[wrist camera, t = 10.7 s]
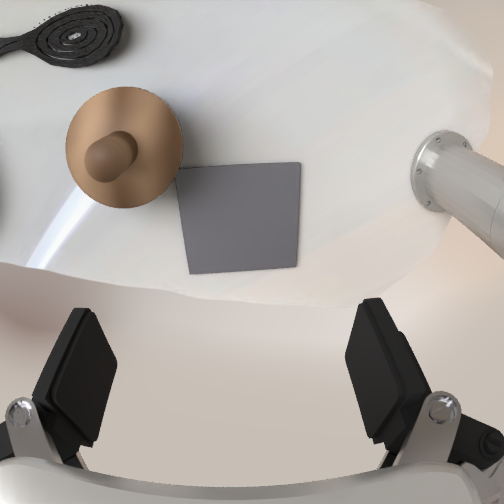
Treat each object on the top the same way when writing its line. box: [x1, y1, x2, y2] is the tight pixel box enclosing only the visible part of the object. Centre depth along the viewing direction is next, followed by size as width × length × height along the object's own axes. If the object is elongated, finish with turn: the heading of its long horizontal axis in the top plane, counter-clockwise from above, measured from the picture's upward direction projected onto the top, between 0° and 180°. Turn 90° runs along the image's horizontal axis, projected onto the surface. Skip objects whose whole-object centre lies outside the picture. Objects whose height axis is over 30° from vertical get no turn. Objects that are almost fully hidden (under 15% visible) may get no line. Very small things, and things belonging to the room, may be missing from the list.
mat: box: [175, 162, 300, 274], centre depth 39 cm, size 15×15×1 cm
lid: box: [66, 87, 183, 208], centre depth 26 cm, size 13×13×6 cm
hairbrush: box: [0, 4, 123, 68], centre depth 22 cm, size 8×4×25 cm
